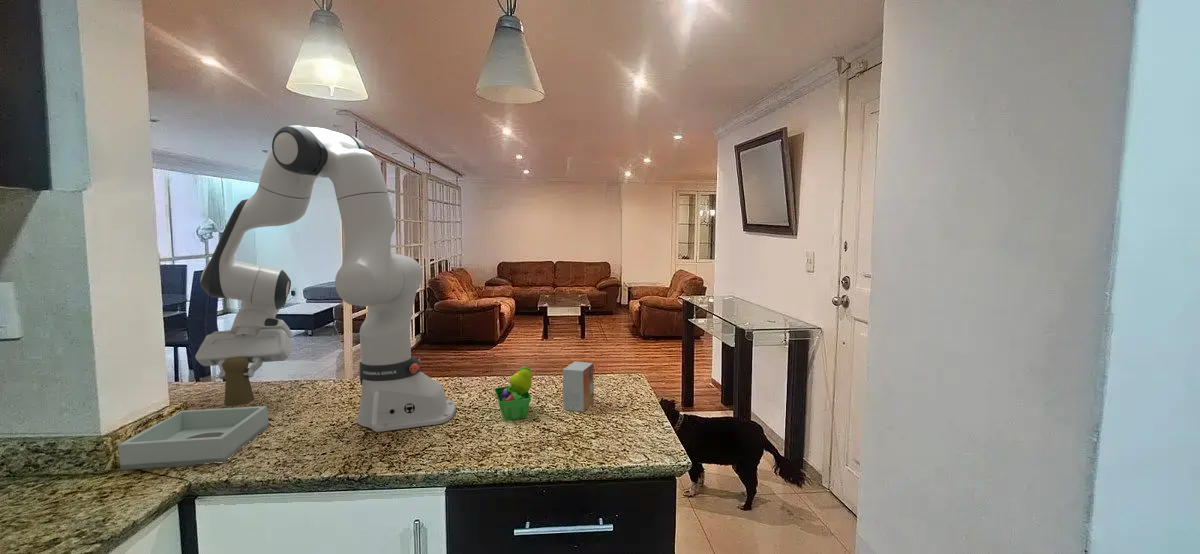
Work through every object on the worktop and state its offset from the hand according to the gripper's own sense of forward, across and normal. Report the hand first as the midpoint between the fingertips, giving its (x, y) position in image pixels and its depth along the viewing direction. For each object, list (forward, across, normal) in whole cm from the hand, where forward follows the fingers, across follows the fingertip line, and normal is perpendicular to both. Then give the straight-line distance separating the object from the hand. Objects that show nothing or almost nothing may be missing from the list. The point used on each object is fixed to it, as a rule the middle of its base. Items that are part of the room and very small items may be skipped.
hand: (235, 377), depth 124 cm
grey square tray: (+19, +1, -5) cm, 20 cm away
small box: (+13, +82, +5) cm, 83 cm away
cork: (+4, 0, +5) cm, 7 cm away
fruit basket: (+14, +66, +3) cm, 68 cm away
